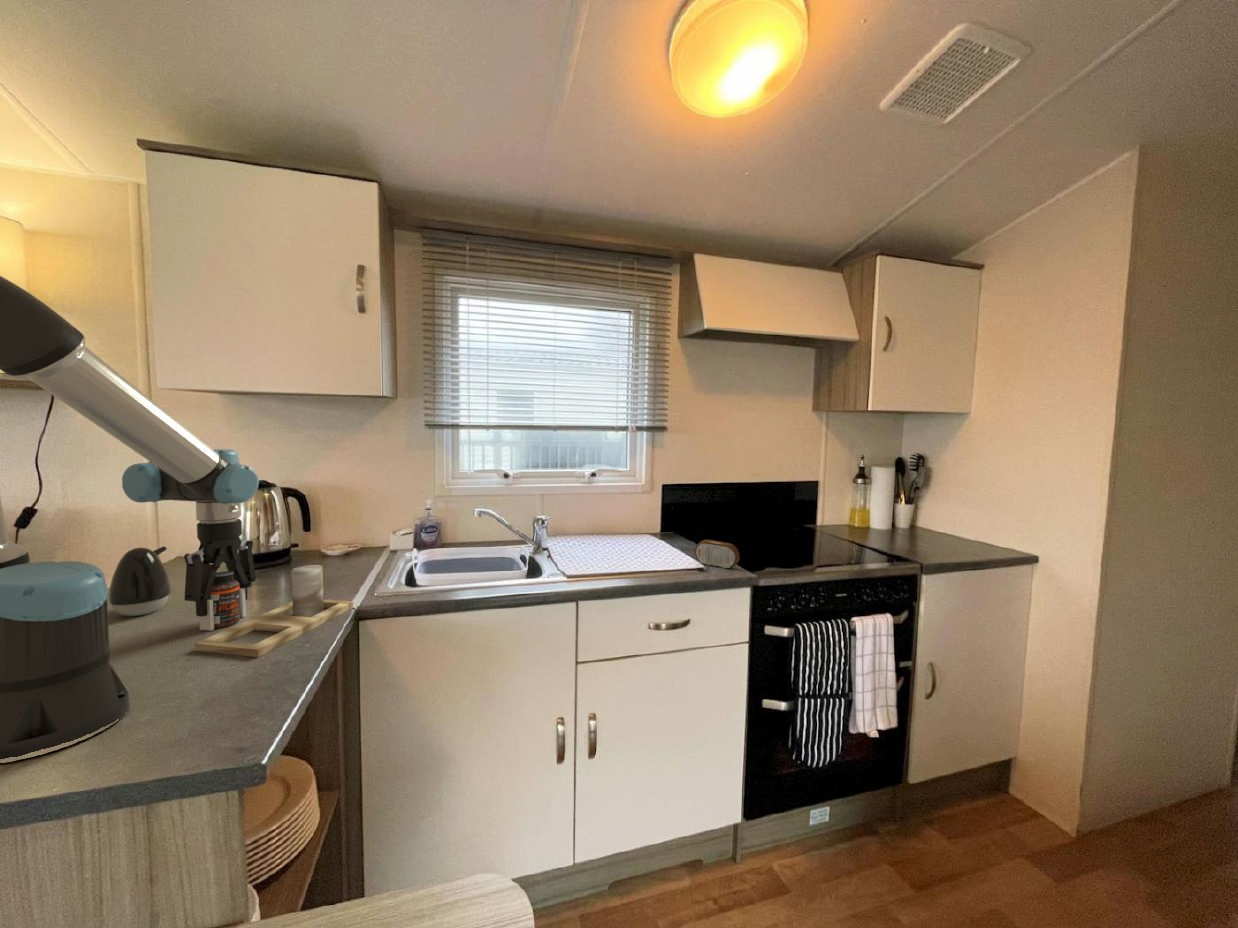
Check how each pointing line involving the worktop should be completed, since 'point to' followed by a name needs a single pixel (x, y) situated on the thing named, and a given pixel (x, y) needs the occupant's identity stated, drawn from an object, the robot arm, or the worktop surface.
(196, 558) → the robot arm
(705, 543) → the tin
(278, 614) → the frame
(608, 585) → the worktop surface
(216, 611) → the supplement bottle
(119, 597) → the pump dispenser
